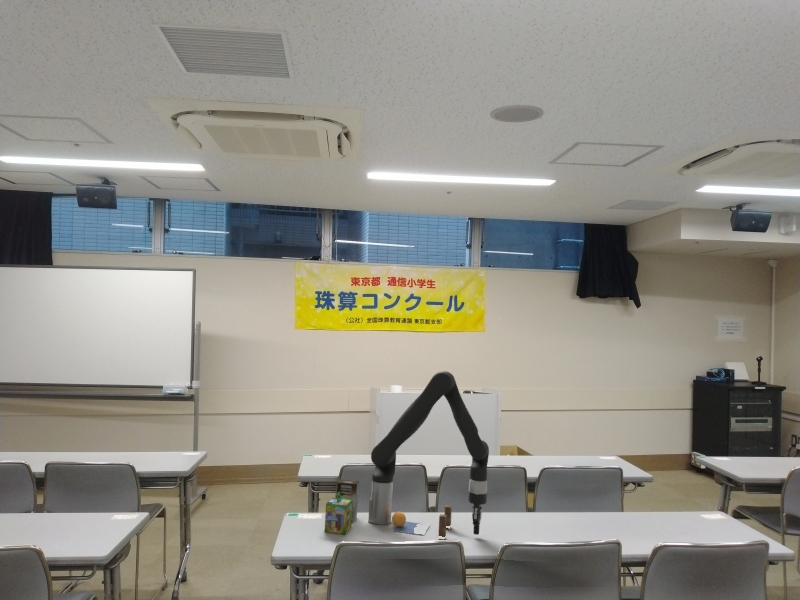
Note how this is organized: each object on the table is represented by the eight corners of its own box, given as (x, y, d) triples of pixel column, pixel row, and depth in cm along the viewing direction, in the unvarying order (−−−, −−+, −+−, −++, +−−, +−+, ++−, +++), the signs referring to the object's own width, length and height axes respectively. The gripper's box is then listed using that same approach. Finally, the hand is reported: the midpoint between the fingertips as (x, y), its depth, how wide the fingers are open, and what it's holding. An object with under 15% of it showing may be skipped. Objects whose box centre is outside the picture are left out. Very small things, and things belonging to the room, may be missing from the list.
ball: (387, 519, 216) (398, 511, 215) (391, 514, 221) (402, 507, 221) (395, 531, 214) (406, 523, 213) (399, 527, 220) (410, 519, 219)
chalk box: (345, 535, 204) (347, 497, 206) (323, 532, 206) (326, 495, 207) (352, 527, 213) (354, 491, 215) (331, 525, 215) (333, 489, 216)
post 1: (438, 539, 205) (439, 516, 206) (439, 537, 208) (440, 514, 208) (444, 540, 204) (445, 517, 205) (445, 537, 207) (446, 515, 208)
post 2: (443, 528, 218) (444, 506, 218) (444, 526, 220) (445, 505, 221) (449, 529, 217) (450, 507, 218) (450, 527, 219) (451, 505, 220)
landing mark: (393, 531, 211) (393, 530, 211) (401, 521, 224) (401, 520, 224) (423, 535, 208) (424, 535, 208) (430, 525, 220) (430, 525, 220)
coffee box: (333, 520, 221) (336, 482, 222) (337, 515, 227) (339, 478, 229) (354, 522, 220) (356, 483, 221) (357, 517, 226) (359, 480, 228)
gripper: (470, 485, 218) (469, 527, 216) (466, 493, 205) (465, 538, 204) (488, 487, 216) (486, 529, 214) (485, 495, 203) (483, 541, 202)
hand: (476, 533), depth 209 cm, fingers closed
